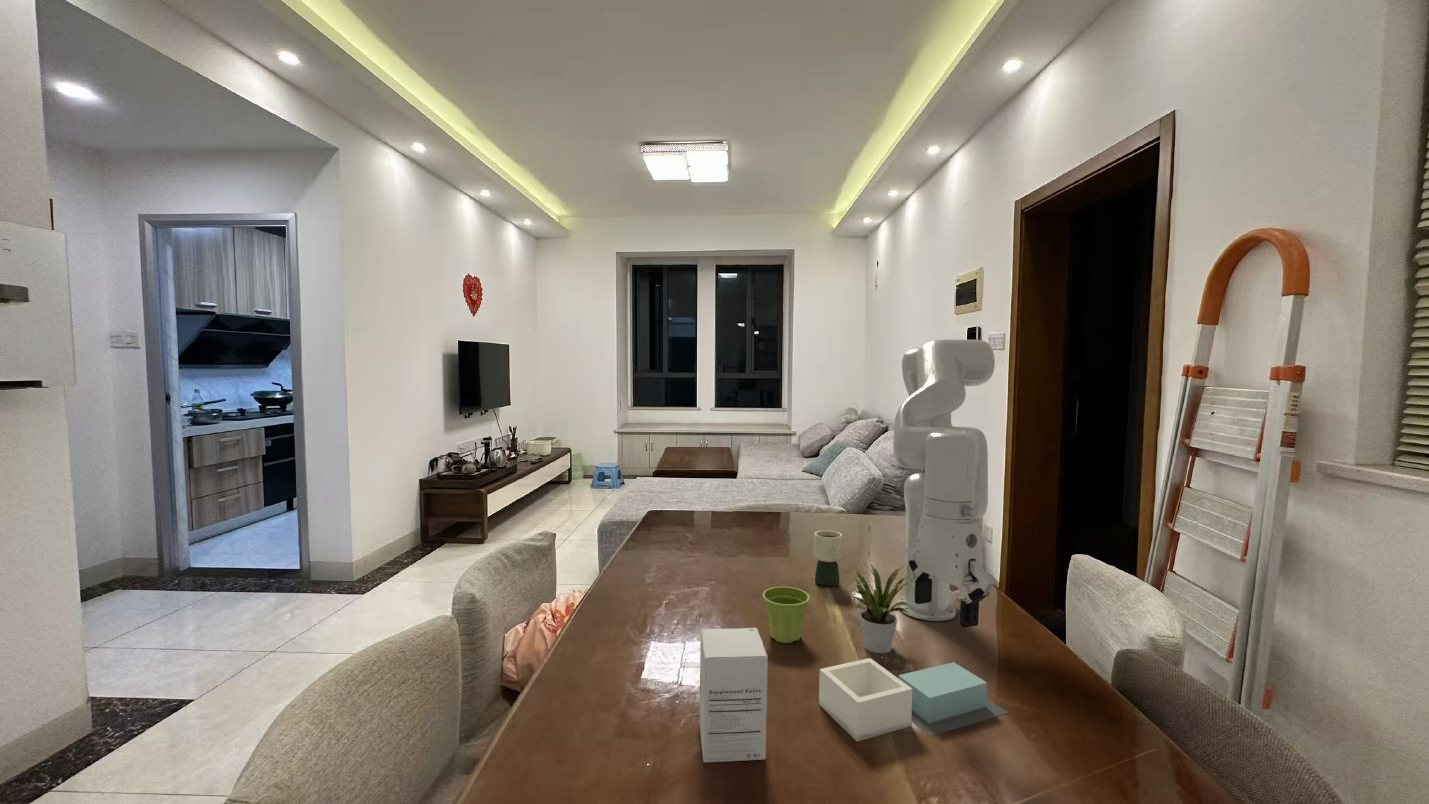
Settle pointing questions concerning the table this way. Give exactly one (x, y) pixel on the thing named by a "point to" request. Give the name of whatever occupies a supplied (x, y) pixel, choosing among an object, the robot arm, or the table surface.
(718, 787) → the table surface
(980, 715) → the mat
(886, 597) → the house plant
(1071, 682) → the table surface
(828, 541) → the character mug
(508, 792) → the table surface
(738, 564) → the table surface
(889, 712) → the white open-top box
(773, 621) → the plant pot
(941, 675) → the teal rectangular block
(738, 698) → the supplement box
